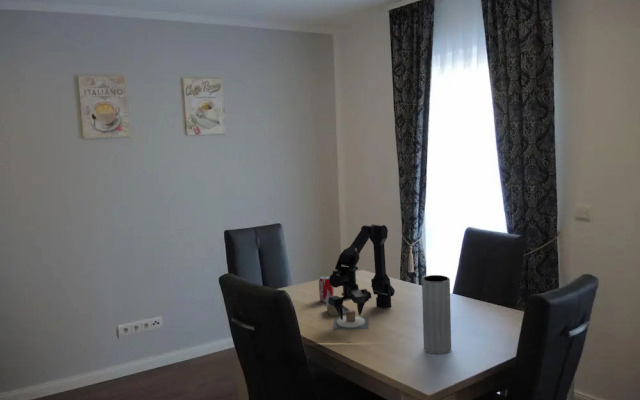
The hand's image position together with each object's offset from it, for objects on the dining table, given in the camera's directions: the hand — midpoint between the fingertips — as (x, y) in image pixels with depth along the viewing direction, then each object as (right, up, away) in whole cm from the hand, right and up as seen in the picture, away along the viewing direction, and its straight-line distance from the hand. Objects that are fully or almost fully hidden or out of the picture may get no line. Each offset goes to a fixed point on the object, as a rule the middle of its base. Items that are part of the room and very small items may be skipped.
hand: (350, 317), depth 229 cm
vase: (+31, -6, -30) cm, 43 cm away
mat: (0, -3, 0) cm, 3 cm away
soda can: (-10, 0, +36) cm, 37 cm away
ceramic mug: (-5, -2, +15) cm, 16 cm away
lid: (0, -3, 0) cm, 3 cm away
